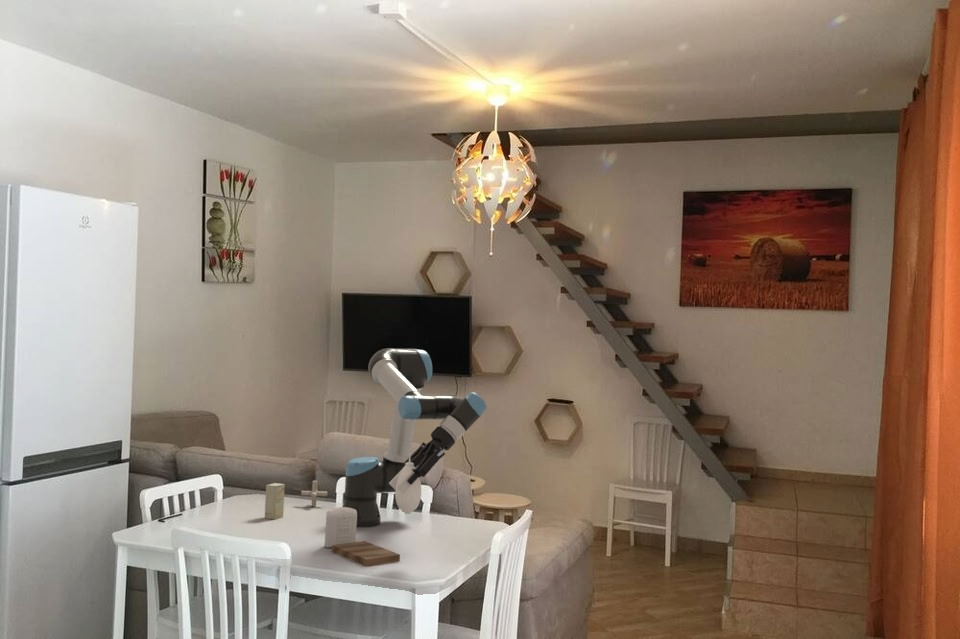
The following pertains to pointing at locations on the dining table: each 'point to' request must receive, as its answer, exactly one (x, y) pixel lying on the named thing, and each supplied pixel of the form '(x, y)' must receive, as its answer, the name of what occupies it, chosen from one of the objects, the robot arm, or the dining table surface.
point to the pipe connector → (314, 493)
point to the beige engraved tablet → (340, 526)
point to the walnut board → (365, 553)
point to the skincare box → (274, 501)
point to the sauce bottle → (408, 491)
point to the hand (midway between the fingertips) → (396, 488)
